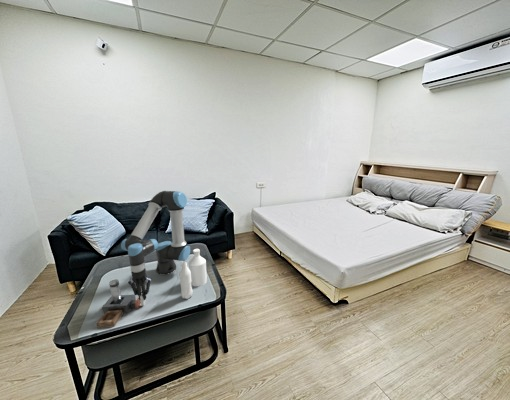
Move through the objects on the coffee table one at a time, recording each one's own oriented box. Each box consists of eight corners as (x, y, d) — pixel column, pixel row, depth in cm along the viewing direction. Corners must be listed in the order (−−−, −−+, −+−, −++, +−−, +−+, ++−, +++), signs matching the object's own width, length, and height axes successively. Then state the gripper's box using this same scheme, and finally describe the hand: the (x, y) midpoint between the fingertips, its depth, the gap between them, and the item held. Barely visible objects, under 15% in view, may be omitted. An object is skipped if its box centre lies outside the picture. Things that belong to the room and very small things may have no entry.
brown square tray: (122, 314, 126) (122, 309, 125) (114, 326, 117) (113, 321, 117) (106, 315, 125) (105, 311, 125) (97, 327, 117) (96, 323, 116)
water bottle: (183, 293, 144) (179, 259, 138) (193, 292, 145) (190, 258, 139) (180, 300, 137) (176, 265, 132) (191, 299, 138) (188, 264, 132)
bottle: (199, 275, 165) (197, 245, 159) (210, 280, 158) (208, 249, 153) (187, 283, 155) (184, 251, 150) (198, 288, 149) (195, 255, 143)
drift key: (140, 303, 135) (140, 297, 134) (137, 308, 130) (136, 302, 129) (127, 304, 134) (126, 298, 133) (123, 309, 130) (122, 303, 129)
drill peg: (124, 304, 134) (120, 279, 130) (120, 310, 129) (115, 283, 125) (116, 305, 134) (111, 279, 130) (112, 310, 129) (107, 284, 125)
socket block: (135, 301, 137) (134, 294, 136) (128, 312, 127) (126, 305, 126) (112, 302, 136) (111, 296, 135) (103, 314, 126) (101, 307, 125)
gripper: (152, 265, 131) (156, 299, 137) (130, 266, 131) (135, 300, 136) (147, 272, 124) (151, 307, 129) (123, 273, 123) (129, 309, 128)
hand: (143, 303), depth 132 cm, fingers closed
